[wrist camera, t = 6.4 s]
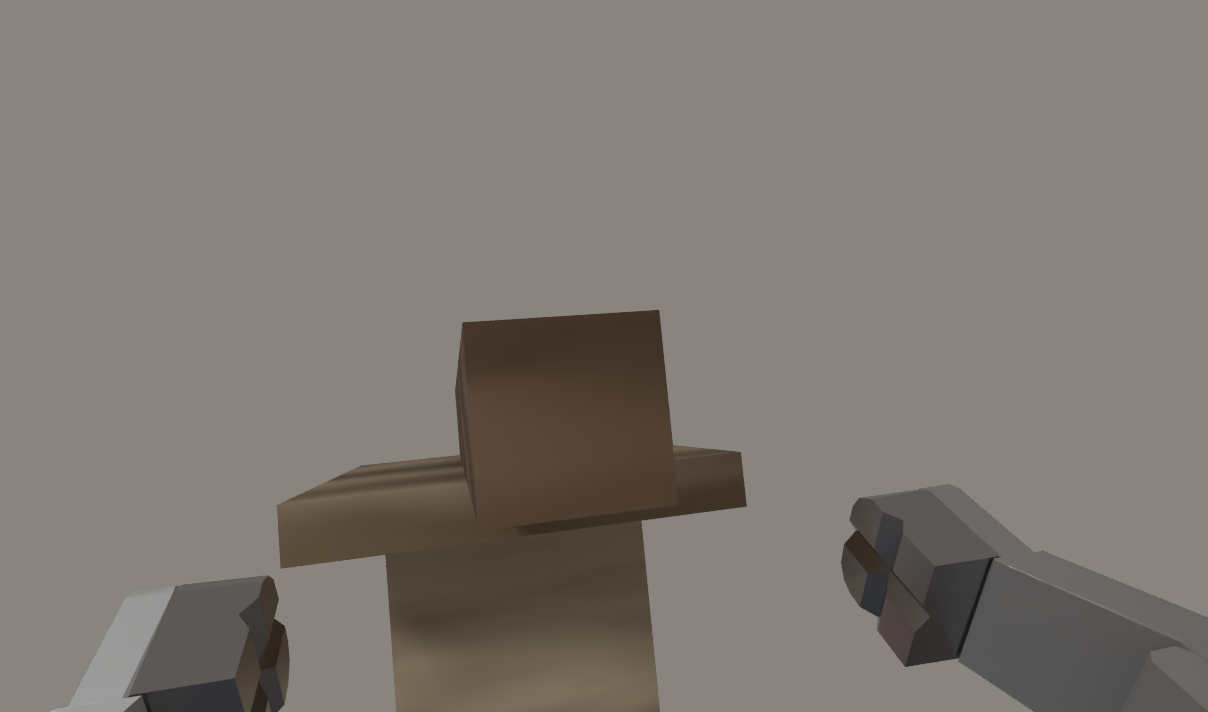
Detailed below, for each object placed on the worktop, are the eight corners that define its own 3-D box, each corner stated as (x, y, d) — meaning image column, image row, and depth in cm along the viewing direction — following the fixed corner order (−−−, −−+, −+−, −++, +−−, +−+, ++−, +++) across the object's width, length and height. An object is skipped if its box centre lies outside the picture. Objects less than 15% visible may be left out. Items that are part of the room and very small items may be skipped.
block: (678, 504, 11) (659, 310, 11) (479, 530, 10) (462, 322, 10) (526, 450, 32) (521, 385, 32) (460, 457, 31) (455, 390, 32)
